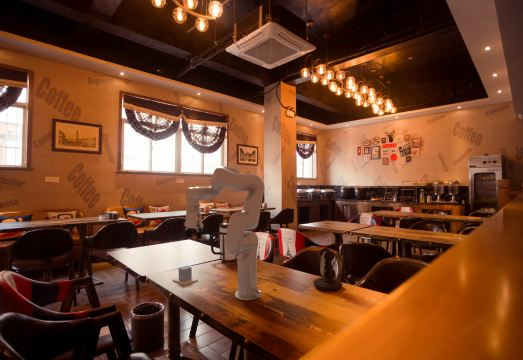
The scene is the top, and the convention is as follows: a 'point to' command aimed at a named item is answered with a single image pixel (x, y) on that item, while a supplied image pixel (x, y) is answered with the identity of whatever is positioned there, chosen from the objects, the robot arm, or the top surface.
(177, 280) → the post stand
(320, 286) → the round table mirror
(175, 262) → the top surface
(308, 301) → the top surface
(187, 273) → the gray rectangular block
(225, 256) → the coffee press
